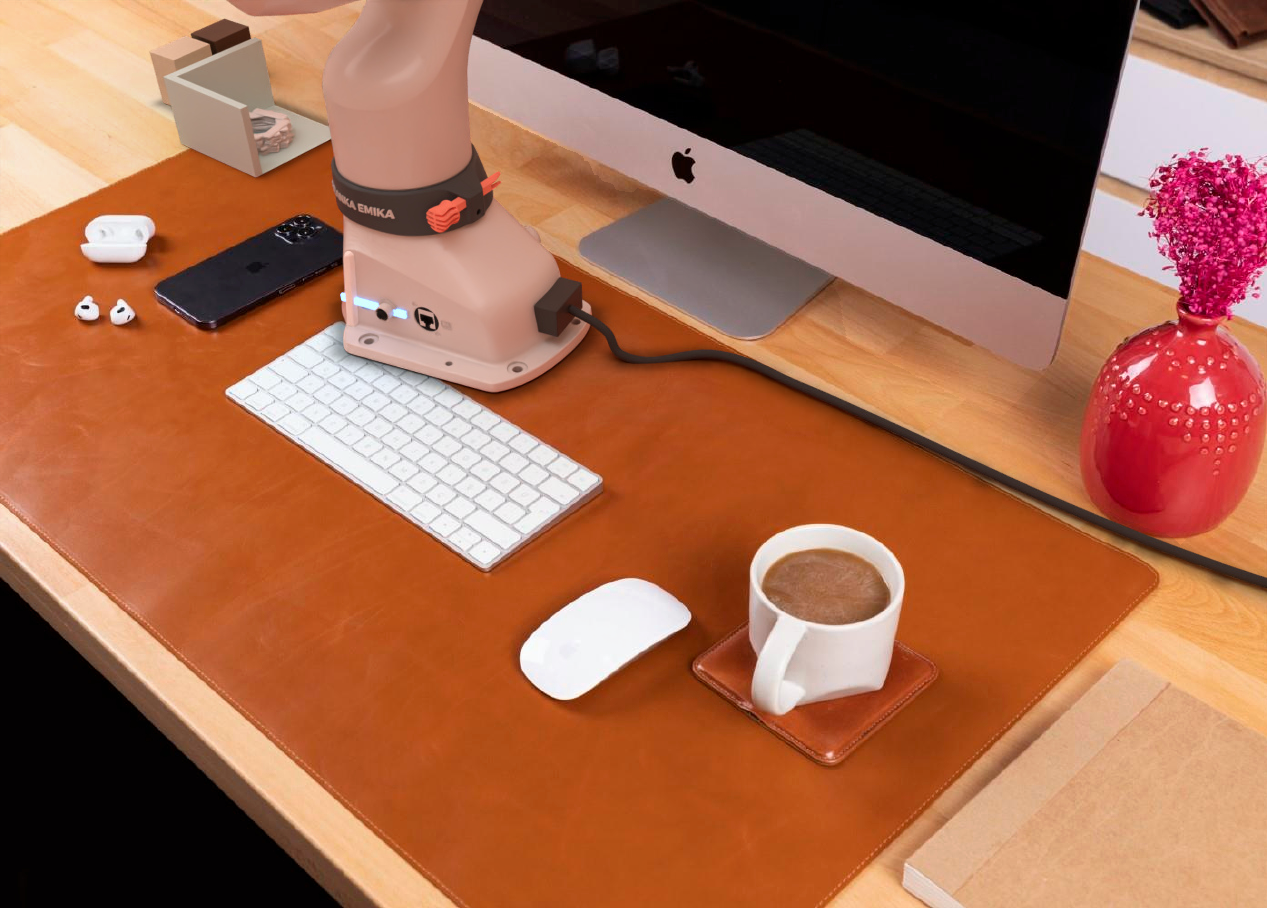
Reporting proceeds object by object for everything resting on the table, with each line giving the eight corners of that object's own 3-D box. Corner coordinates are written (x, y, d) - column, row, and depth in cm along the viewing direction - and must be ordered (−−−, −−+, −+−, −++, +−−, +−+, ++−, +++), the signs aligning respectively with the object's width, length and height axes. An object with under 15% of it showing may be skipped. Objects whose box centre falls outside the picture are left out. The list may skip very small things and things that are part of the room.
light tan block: (221, 95, 143) (209, 43, 139) (187, 111, 140) (173, 60, 136) (197, 86, 145) (185, 35, 141) (162, 102, 142) (149, 51, 138)
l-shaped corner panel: (255, 177, 129) (240, 108, 124) (180, 143, 135) (163, 76, 130) (343, 132, 136) (331, 66, 131) (268, 102, 142) (254, 37, 137)
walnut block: (259, 76, 147) (248, 26, 143) (226, 92, 144) (214, 41, 140) (235, 68, 148) (224, 17, 144) (202, 83, 145) (190, 33, 141)
